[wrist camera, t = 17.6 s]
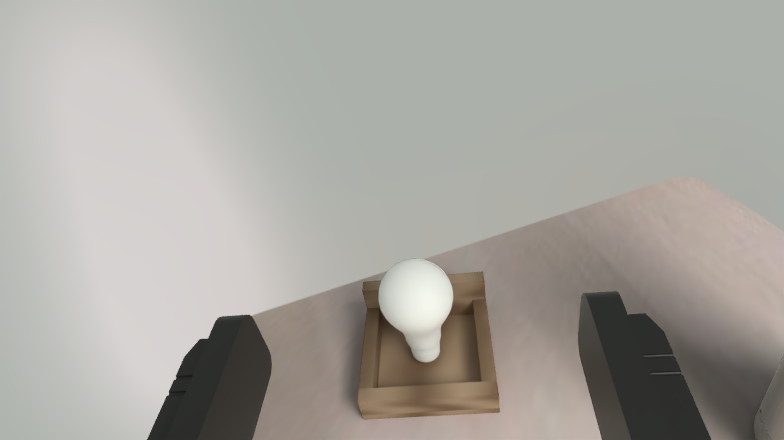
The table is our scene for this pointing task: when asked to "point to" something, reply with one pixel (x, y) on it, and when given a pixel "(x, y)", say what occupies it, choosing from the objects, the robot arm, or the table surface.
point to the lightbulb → (417, 304)
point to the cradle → (436, 378)
